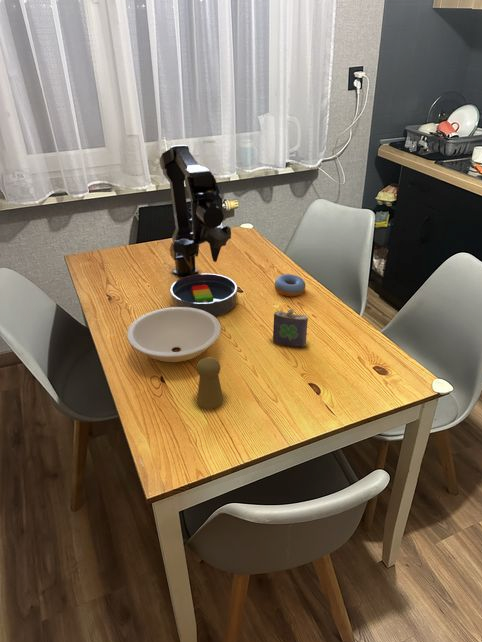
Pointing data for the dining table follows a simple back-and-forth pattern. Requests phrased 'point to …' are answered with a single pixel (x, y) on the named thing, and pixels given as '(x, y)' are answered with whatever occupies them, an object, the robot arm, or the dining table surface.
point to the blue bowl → (218, 286)
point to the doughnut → (289, 285)
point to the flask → (290, 329)
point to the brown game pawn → (209, 384)
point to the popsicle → (202, 294)
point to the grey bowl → (174, 333)
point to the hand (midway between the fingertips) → (204, 266)
